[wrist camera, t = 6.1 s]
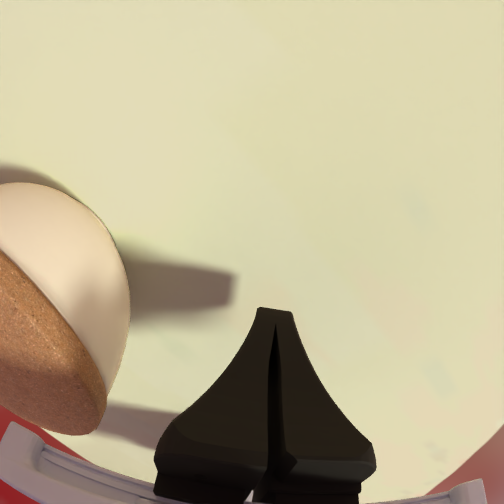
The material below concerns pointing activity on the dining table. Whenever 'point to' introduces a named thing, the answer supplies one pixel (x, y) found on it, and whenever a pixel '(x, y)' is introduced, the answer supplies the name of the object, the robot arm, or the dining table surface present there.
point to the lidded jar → (58, 309)
